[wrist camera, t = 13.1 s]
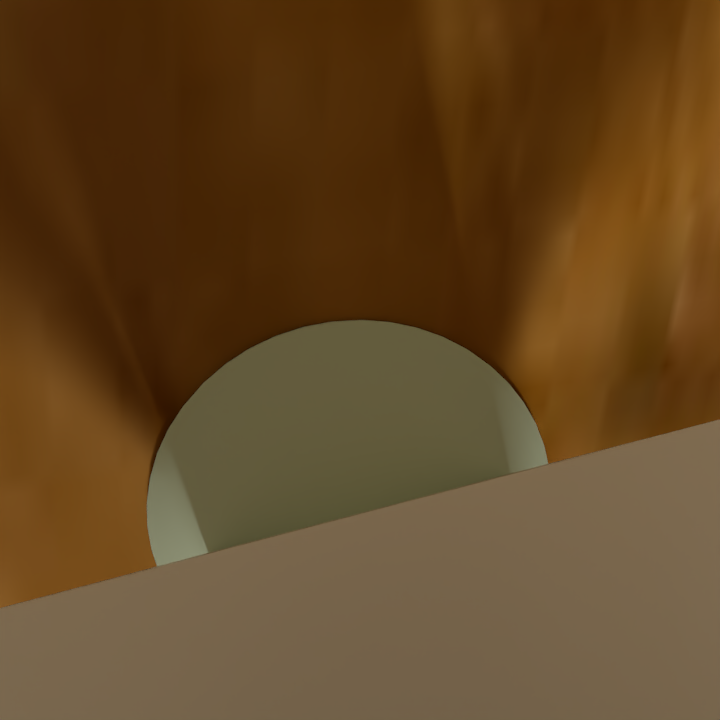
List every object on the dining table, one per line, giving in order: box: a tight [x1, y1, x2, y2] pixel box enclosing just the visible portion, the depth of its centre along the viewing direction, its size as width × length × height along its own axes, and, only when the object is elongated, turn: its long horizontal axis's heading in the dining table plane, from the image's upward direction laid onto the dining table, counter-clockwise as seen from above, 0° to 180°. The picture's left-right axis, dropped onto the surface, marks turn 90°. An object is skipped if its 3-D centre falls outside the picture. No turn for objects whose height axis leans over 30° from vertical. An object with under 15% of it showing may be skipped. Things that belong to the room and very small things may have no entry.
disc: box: [147, 320, 548, 566], centre depth 11 cm, size 10×10×1 cm
